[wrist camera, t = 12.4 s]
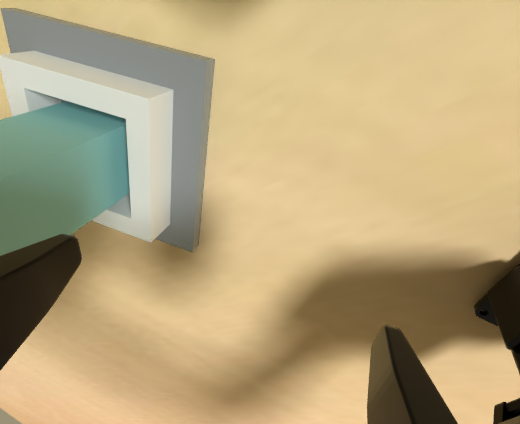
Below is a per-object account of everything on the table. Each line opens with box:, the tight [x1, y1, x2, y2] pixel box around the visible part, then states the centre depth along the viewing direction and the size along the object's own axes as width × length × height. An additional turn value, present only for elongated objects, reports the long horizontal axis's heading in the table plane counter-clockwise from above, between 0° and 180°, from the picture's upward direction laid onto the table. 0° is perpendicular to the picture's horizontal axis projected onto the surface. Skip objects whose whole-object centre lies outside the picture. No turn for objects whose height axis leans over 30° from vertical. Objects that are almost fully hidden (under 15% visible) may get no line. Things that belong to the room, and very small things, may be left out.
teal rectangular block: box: [0, 101, 130, 256], centre depth 18 cm, size 5×5×13 cm
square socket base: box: [0, 8, 215, 252], centre depth 23 cm, size 14×14×4 cm
